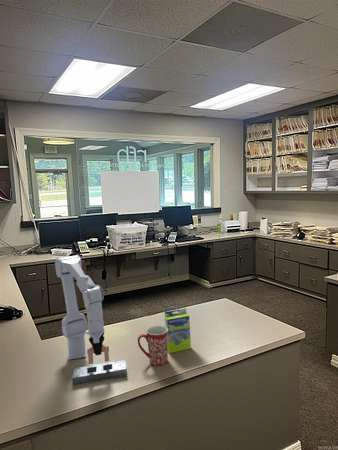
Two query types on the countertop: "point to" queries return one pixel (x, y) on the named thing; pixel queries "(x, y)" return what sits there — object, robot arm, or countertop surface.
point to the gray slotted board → (99, 372)
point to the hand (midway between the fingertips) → (98, 352)
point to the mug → (156, 345)
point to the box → (178, 330)
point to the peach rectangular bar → (104, 349)
